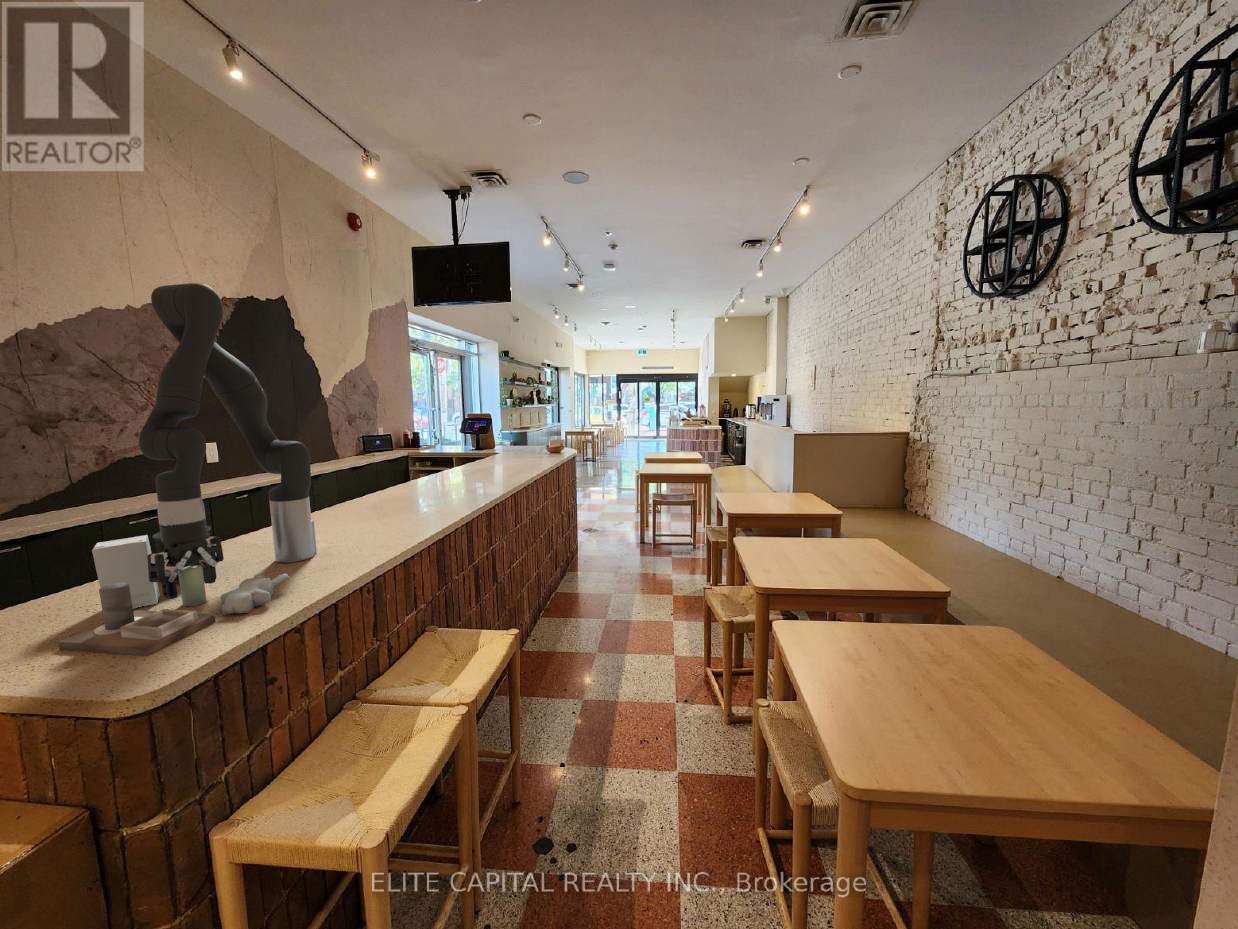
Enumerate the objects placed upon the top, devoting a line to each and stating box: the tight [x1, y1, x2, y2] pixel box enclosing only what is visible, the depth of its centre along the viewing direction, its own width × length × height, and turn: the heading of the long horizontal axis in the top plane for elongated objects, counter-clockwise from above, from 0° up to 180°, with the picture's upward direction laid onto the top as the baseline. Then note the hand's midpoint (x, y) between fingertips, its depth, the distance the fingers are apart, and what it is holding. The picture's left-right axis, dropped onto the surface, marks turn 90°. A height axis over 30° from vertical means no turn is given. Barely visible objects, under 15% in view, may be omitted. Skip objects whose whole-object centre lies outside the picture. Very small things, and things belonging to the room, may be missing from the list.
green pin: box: [178, 565, 207, 607], centre depth 107 cm, size 4×4×8 cm
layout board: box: [57, 583, 216, 657], centre depth 92 cm, size 13×18×10 cm
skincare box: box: [91, 534, 160, 610], centre depth 104 cm, size 8×6×15 cm
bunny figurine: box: [220, 573, 290, 615], centre depth 107 cm, size 10×5×15 cm
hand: (191, 590), depth 107 cm, fingers open, 8 cm apart
